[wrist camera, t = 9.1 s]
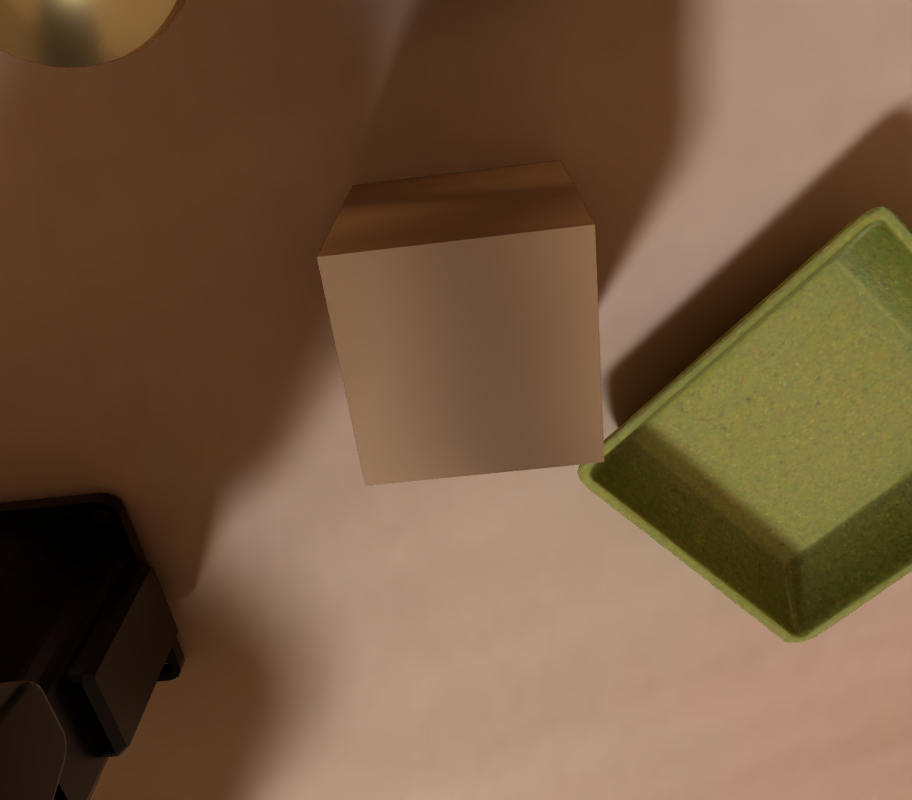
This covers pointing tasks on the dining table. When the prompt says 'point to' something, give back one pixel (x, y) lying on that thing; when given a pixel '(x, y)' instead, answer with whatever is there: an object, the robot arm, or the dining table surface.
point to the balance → (82, 29)
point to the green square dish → (788, 441)
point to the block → (467, 323)
